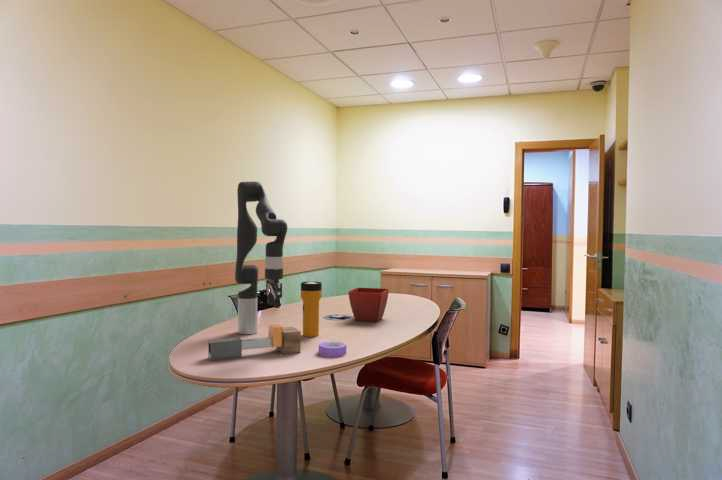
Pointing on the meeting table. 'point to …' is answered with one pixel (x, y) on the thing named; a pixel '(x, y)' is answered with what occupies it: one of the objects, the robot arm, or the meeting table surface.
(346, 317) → the meeting table surface
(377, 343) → the meeting table surface
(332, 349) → the masking tape
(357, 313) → the plant pot
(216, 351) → the sleeve
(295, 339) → the socket block
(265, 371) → the meeting table surface
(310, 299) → the flashlight
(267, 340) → the slip tube
